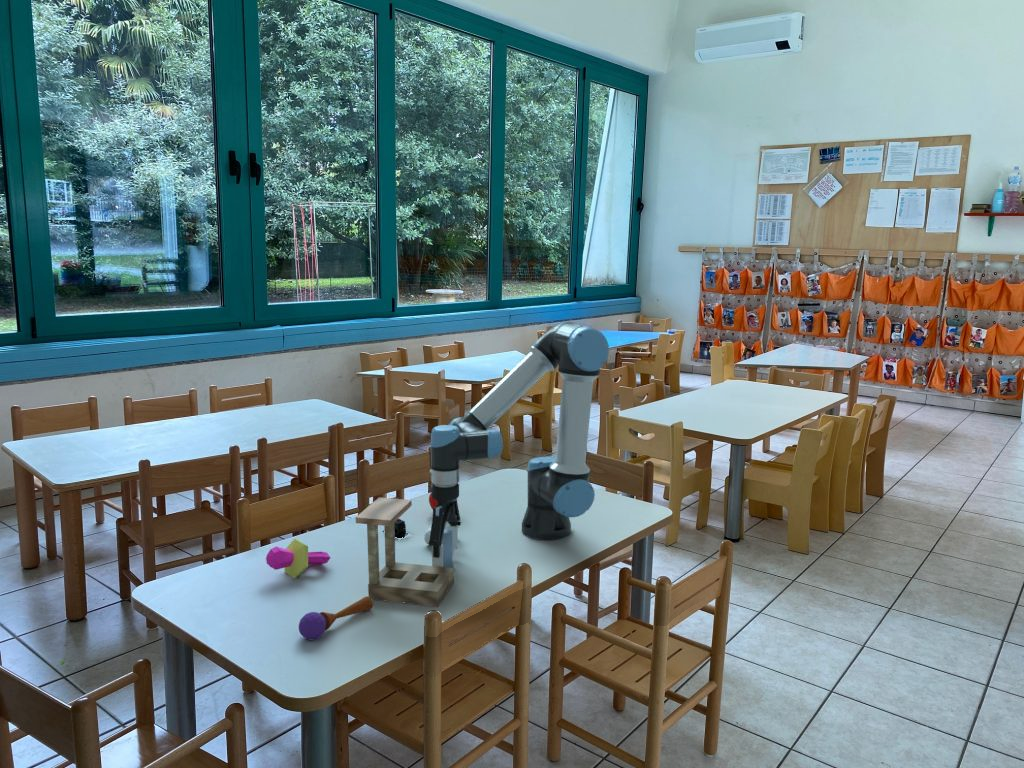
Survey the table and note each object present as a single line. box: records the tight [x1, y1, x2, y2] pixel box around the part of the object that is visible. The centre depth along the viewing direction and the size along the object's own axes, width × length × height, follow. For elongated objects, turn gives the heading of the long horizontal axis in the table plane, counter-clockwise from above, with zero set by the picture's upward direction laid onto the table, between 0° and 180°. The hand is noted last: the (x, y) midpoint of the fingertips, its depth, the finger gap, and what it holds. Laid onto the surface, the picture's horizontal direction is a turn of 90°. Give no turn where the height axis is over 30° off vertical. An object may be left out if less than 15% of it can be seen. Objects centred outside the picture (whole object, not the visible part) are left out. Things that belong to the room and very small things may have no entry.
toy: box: [265, 538, 332, 579], centre depth 210 cm, size 10×18×10 cm, turn 133°
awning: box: [355, 496, 413, 584], centre depth 200 cm, size 9×15×18 cm, turn 167°
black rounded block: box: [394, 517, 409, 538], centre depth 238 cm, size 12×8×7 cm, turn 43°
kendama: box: [298, 595, 374, 640], centre depth 183 cm, size 6×6×20 cm
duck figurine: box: [423, 521, 459, 545], centre depth 231 cm, size 12×8×11 cm
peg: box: [442, 530, 454, 568], centre depth 214 cm, size 4×4×10 cm
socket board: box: [367, 561, 455, 608], centre depth 200 cm, size 18×14×4 cm
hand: (445, 557), depth 215 cm, fingers open, 13 cm apart
